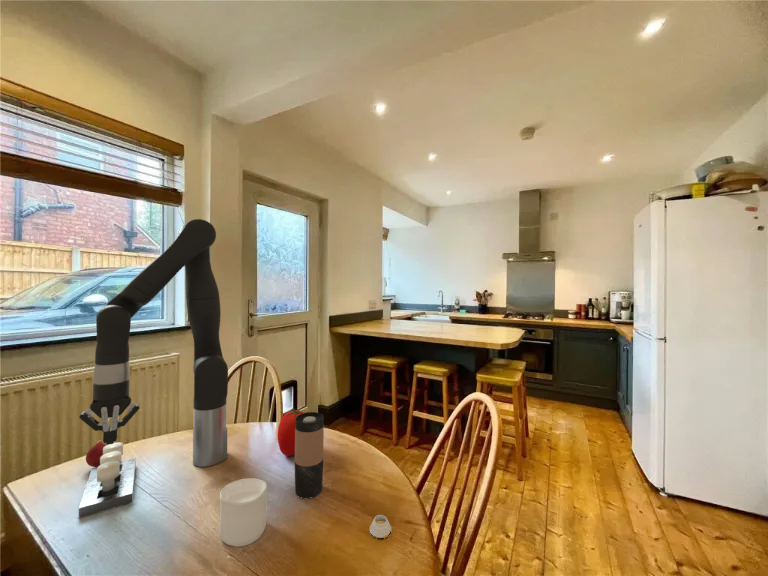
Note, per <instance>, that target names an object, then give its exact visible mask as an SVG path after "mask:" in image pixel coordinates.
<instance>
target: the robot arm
mask: <svg viewBox="0 0 768 576" xmlns="http://www.w3.org/2000/svg"><path fill="white" fill-rule="evenodd" d="M216 238H217V231H216V229H215V227H214V226H213V224H212V223H210V222H209V221H208V220H205V219H201V218H197V219H196V218H195V219H191V220H189V221H187V222H185V223H184V224H183V225H182V226H181V227H180V229H179V231H178V236H177V237H176V238H175V240H174V241H173V242H172V243H171V245H170V246H169V247H167V249H165V251H163V252H162V253H161V255H159V256H158V257H156V259H154V260H153V261H152V262H150V263H149V264H148V265H147V266H146V267H144V268H143V269H142V270H141V271H139V273H138V274H137V275H136V276H135V277H134V278H132V280H130V281H129V282H128V283H127V284H126V285H125V287H124V288H123V289H122V290H121V291H120V292H119V293H117V295H115V296H114V297H113V298H112V299H110V301H108V302H107V303H106V304H104V306H102V307H101V308H100V309H99V311H97V313H96V316H95V317H96V318H95V319H96V320H95V321H96V322H95V323H96V325H95V326H96V328H95V329H96V346H95V352H94V353H95V354H94V357H95V358H94V369H93V377H92V382H93V383H92V402H91V404H90V405H89V408H87V409H86V410H84V411H81V412H80V414H79V419H80V420H81V421H83V423H85V424H86V425H87V426H89V427H90V428H91V429H92V430H93V431H95V432H98V431H101V432H103V433H102V436H103V437H102V443H104V444H106V445H110V444H113V443H115V442H117V440H118V432H119V431H118V429H119V428H121V427H125V426H126V425H127V424H128V422H129V421H130V420H131V419H133V416H134V415H135V414H136V413H138V411H139V410H140V406H141V405H140V403H135V402H134V401H132V398H131V396H130V376H131V375H130V373H131V371H130V370H131V369H130V345H129V339H130V335H131V334H130V333H131V322H132V320H131V319H132V318H133V317H134V316H135V315H136V314H137V313H138V312H139V311H140V310H141V309H142V308H143V307H144V306H146V305H148V304H149V303H150V302H151V301H153V299H155V297H156V296H158V294H159V293H160V292H161V291H162V290H163V289H164V288H165V287H166V286H167V285H168V284H169V282H171V280H173V278H174V277H175V276H176V275H177V274H178V273H179V272H180V271H181V270H182V269H183V268H184V271H185V272H184V275H185V277H184V285H185V300H186V301H185V302H186V311H187V312H186V313H187V317H188V322H189V325H190V327H189V328H190V330H191V334H192V339H193V347H194V348H193V369H192V370H193V374H194V377H193V383H194V385H193V400H192V401H193V409H192V411H193V416H192V417H193V419H192V422H193V423H192V424H193V425H192V426H193V427H192V464H193V465H194V466H195V467H198V468H199V467H200V468H202V467H203V468H204V467H210V466H214V465H217V464H219V463H221V462H222V461H224V460H227V459H228V428H227V398H228V391H229V390H228V389H229V386H228V385H229V368H228V363H227V362H226V361H225V358H224V356H223V352H222V348H221V341H220V329H221V328H220V327H221V300H220V299H221V297H220V291H219V287H218V284H217V281H216V278H215V275H214V273H213V272H214V271H212V265H211V246H213V245H214V243H215V242H216ZM126 409H128V412H127V413H126V414H125V415H124V416H123V418H122V419H120V420H119V418H120V416H121V415H122V414H123V413H124V412H125V410H126ZM94 414H95V415H96V416H97V417H98V418H99V419H101V422H100V421H98V420H97V419H96V418H95V417H94ZM110 418H112V419H111V424H110Z"/></svg>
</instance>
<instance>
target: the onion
mask: <svg viewBox="0 0 768 576" xmlns="http://www.w3.org/2000/svg"><path fill="white" fill-rule="evenodd" d="M105 446H107V445H106V443H104V442H103V439H102V440H100V439H99V440H98V441H97V442H96V443H95V444H94V445H93V446H91V448H90V449H89V450H88V451H87V453H86V455H85V463H86V464H87V465H88V466H90V467H92V468H96V467H99V466H100V457H101V456H103V448H104V447H105Z"/></svg>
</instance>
